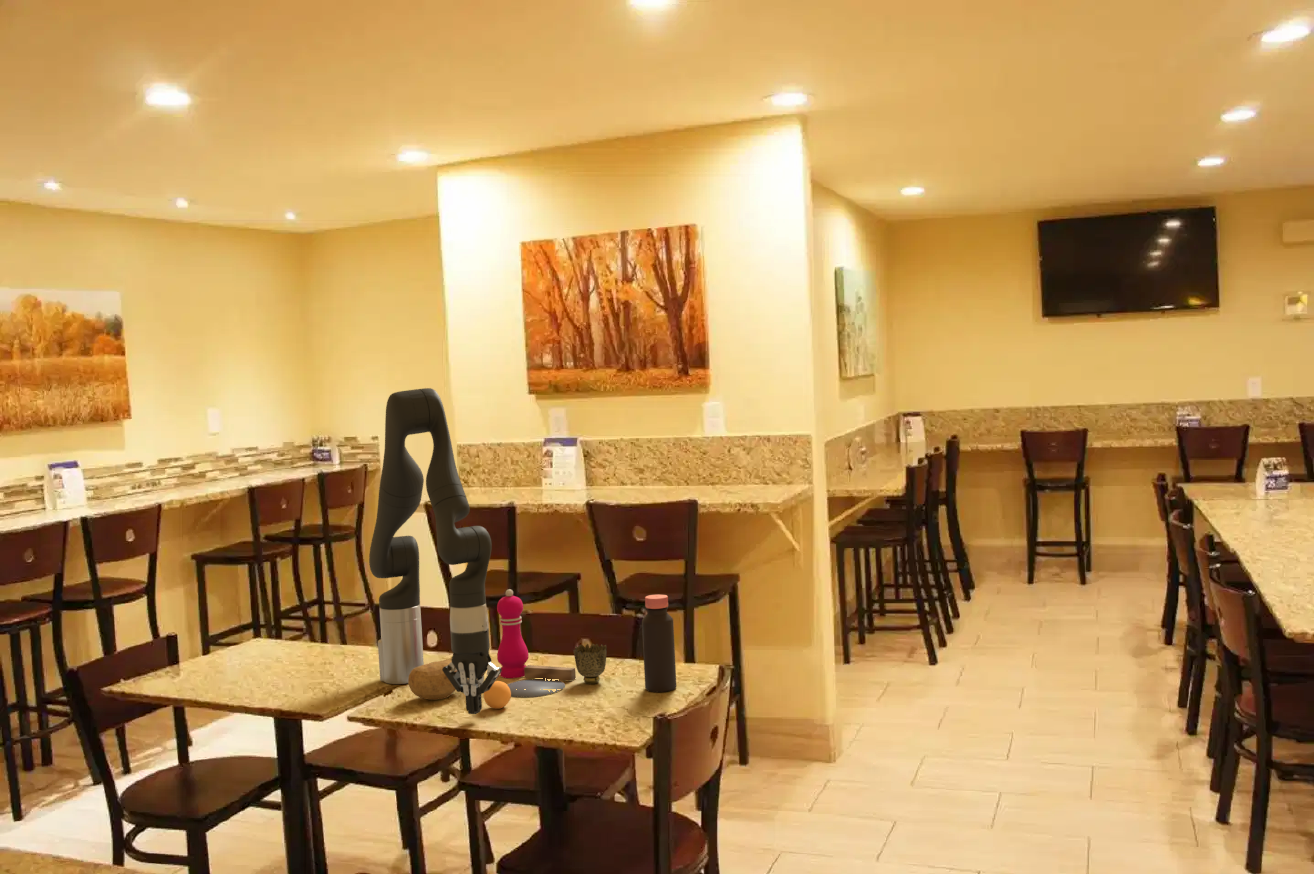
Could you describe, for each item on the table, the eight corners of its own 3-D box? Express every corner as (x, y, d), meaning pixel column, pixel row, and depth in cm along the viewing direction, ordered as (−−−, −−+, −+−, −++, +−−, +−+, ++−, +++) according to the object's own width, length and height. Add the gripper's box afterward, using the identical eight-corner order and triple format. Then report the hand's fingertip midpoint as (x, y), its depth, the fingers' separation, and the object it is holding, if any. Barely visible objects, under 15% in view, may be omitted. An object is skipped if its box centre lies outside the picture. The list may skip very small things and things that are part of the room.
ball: (479, 711, 223) (477, 684, 222) (493, 703, 228) (491, 677, 227) (502, 713, 220) (501, 685, 220) (516, 705, 226) (515, 678, 225)
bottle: (648, 683, 237) (644, 593, 236) (679, 684, 235) (674, 593, 234) (642, 692, 230) (637, 599, 229) (673, 693, 229) (668, 599, 228)
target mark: (489, 695, 234) (488, 694, 234) (520, 677, 247) (520, 677, 247) (546, 699, 229) (546, 698, 229) (575, 681, 242) (575, 680, 242)
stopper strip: (524, 678, 247) (524, 667, 247) (529, 675, 248) (528, 665, 248) (571, 681, 242) (571, 670, 242) (575, 678, 244) (575, 667, 244)
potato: (479, 692, 236) (477, 656, 236) (427, 709, 226) (425, 671, 225) (450, 686, 243) (448, 651, 242) (399, 702, 232) (396, 665, 232)
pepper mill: (535, 672, 251) (531, 587, 250) (515, 680, 245) (511, 593, 244) (512, 669, 255) (507, 585, 254) (491, 677, 249) (486, 591, 248)
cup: (603, 687, 236) (601, 651, 235) (571, 687, 237) (569, 651, 237) (612, 678, 243) (610, 642, 243) (580, 677, 245) (578, 643, 244)
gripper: (430, 630, 214) (435, 716, 215) (488, 632, 209) (493, 721, 210) (451, 621, 221) (456, 705, 222) (507, 624, 216) (512, 709, 217)
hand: (474, 713), depth 216 cm, fingers closed
